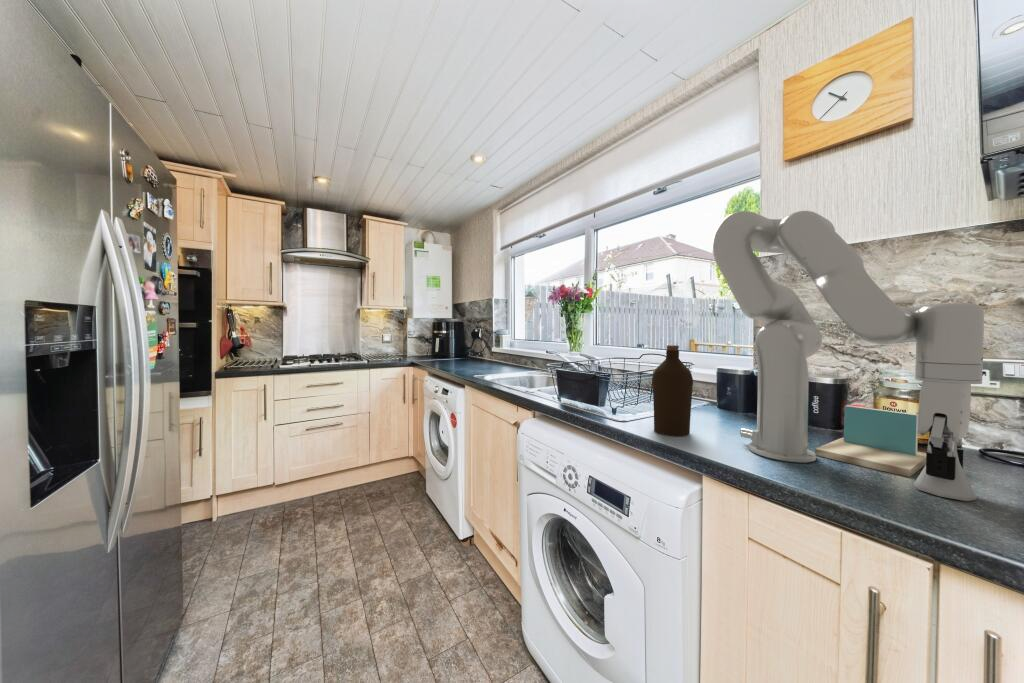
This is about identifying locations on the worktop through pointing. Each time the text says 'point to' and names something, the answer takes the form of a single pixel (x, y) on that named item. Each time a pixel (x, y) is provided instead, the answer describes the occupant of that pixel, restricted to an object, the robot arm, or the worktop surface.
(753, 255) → the robot arm
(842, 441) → the board
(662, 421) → the olive oil
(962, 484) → the flask
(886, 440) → the tile
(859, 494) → the worktop surface
